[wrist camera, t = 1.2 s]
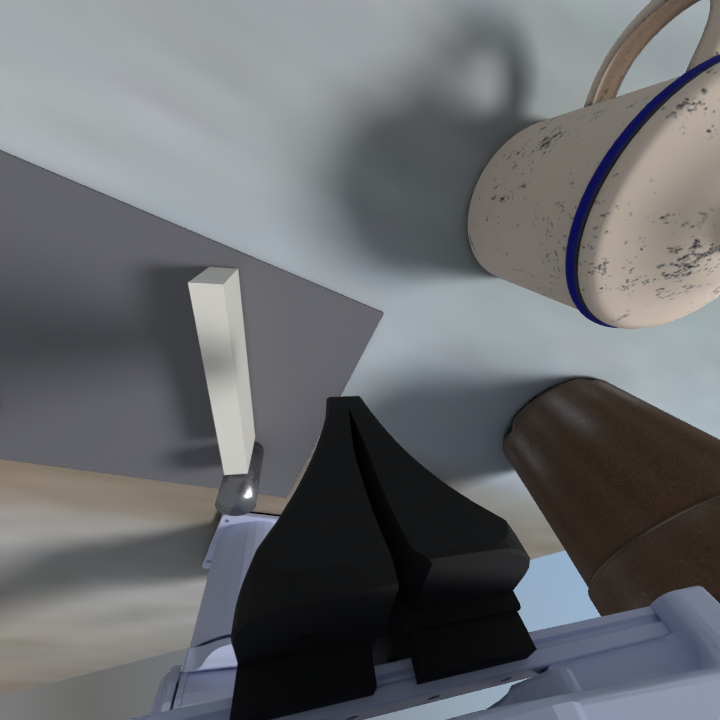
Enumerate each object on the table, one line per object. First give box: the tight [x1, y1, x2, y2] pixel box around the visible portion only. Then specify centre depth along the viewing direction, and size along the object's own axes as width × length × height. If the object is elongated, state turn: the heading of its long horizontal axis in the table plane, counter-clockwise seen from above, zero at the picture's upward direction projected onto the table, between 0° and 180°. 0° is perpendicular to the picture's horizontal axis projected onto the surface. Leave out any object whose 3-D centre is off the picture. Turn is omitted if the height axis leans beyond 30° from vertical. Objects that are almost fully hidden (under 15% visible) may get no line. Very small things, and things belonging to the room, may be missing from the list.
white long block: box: [188, 267, 255, 475], centre depth 18 cm, size 13×2×4 cm, turn 174°
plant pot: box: [504, 379, 720, 617], centre depth 22 cm, size 16×16×16 cm
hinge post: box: [215, 441, 264, 516], centre depth 21 cm, size 3×3×5 cm
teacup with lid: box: [468, 0, 720, 329], centre depth 12 cm, size 12×9×12 cm
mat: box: [0, 150, 384, 498], centre depth 19 cm, size 20×22×1 cm
